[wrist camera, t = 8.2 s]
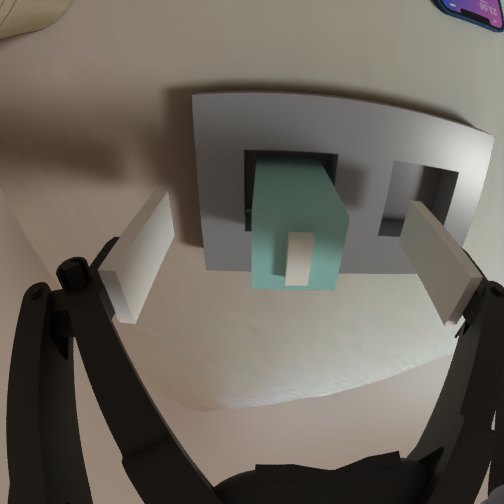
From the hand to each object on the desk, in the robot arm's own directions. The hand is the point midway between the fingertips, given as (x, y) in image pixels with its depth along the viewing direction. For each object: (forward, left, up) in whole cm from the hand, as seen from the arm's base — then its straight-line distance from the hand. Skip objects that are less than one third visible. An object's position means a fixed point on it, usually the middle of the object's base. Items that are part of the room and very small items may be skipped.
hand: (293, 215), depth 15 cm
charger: (0, 0, -5) cm, 5 cm away
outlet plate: (0, +4, -5) cm, 7 cm away
